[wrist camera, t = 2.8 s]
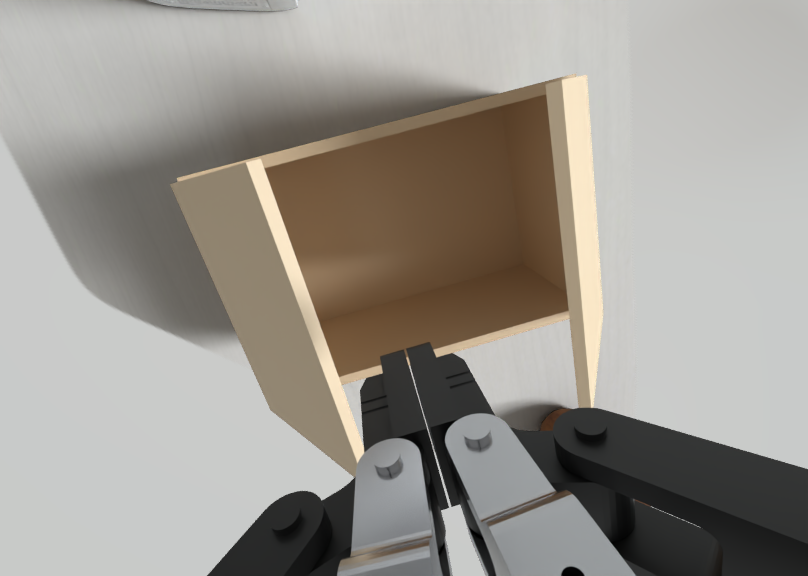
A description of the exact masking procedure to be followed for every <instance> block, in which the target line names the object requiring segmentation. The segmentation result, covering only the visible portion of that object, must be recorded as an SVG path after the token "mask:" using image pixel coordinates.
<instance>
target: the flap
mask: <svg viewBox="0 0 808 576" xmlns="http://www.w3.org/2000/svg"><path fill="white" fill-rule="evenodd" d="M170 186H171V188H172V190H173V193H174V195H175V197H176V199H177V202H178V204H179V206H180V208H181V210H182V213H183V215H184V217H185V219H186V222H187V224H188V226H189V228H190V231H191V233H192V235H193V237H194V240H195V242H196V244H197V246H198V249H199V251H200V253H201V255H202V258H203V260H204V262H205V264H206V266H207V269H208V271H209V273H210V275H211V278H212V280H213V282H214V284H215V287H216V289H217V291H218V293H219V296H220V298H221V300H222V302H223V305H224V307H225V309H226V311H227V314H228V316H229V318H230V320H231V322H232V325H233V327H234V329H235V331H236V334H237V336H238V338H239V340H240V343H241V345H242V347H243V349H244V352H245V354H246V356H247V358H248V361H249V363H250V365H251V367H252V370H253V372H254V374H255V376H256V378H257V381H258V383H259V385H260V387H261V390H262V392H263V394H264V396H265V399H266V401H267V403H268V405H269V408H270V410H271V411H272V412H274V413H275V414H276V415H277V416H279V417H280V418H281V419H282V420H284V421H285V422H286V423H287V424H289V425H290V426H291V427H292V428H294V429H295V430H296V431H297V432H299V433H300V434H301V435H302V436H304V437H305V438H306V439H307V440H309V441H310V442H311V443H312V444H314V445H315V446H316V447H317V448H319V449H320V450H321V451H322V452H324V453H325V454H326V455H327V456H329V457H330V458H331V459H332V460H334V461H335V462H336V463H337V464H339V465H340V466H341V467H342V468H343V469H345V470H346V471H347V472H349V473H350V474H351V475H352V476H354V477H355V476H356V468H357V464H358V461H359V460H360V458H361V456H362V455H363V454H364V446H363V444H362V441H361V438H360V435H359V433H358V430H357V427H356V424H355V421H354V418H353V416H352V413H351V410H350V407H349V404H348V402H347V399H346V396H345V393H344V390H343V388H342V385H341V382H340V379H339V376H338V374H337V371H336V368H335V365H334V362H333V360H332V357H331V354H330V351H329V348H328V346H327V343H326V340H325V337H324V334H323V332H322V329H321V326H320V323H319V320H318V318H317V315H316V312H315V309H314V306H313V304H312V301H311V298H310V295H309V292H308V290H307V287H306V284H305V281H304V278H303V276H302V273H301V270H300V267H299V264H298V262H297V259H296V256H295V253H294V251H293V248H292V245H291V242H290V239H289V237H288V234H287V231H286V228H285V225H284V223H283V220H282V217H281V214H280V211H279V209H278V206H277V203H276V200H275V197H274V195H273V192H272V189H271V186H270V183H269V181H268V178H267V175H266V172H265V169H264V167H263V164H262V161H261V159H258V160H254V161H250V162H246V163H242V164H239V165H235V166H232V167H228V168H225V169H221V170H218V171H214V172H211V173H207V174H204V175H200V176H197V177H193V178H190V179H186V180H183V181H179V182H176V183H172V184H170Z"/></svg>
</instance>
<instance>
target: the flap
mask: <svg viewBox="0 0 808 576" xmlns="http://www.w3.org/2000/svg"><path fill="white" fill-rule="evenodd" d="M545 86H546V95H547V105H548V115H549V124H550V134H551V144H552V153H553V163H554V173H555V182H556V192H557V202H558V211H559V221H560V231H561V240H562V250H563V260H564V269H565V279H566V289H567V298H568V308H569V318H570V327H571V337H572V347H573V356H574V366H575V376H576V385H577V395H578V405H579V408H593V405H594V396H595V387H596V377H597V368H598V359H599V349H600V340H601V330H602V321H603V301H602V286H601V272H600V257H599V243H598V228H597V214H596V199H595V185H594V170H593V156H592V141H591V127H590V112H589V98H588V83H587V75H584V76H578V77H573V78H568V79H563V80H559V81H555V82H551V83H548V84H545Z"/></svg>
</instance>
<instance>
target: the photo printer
mask: <svg viewBox="0 0 808 576" xmlns="http://www.w3.org/2000/svg"><path fill="white" fill-rule="evenodd" d="M147 1H150V2H154V3H158V4H162V5H167V6H175V7H185V8H202V9H221V10H244V11H246V10H249V11H282V10H289V9H294V8H297V7H298V2H297V1H298V0H147Z"/></svg>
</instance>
